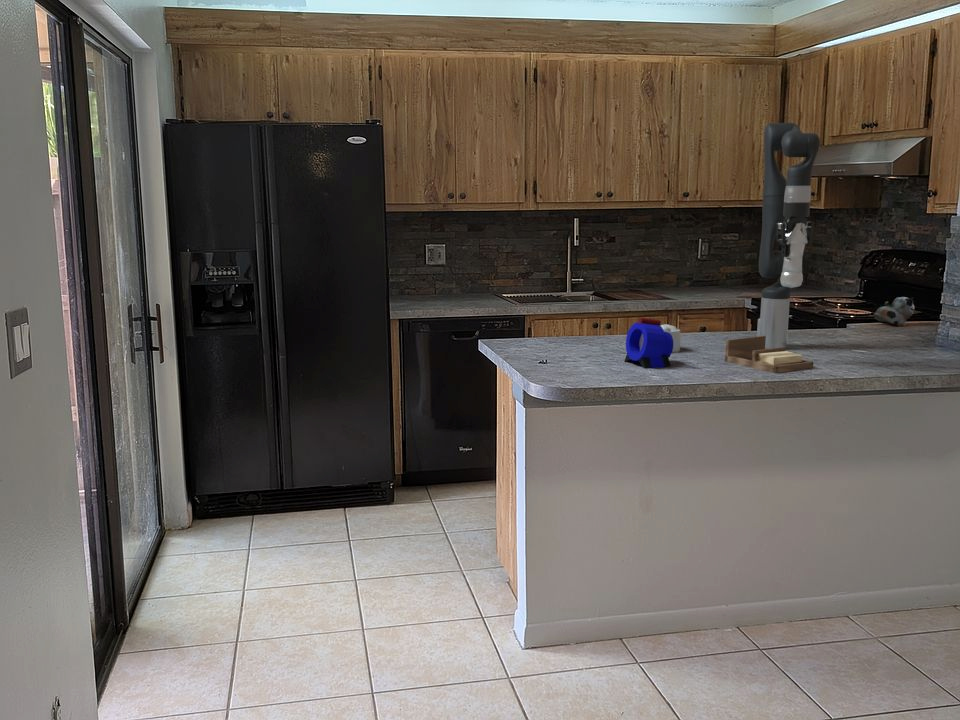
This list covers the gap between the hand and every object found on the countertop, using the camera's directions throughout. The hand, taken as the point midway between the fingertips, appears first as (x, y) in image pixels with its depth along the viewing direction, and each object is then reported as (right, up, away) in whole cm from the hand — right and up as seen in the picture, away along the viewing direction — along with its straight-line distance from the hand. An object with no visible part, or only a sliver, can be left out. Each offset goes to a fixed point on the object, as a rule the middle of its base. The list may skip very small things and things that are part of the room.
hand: (793, 256), depth 270 cm
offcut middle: (-6, -34, -5) cm, 35 cm away
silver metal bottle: (0, -10, +2) cm, 10 cm away
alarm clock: (-43, -33, +5) cm, 55 cm away
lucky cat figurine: (+71, -18, +86) cm, 112 cm away
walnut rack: (-8, -34, -1) cm, 35 cm away
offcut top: (-6, -32, -6) cm, 33 cm away
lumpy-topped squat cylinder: (-36, -29, +29) cm, 54 cm away
